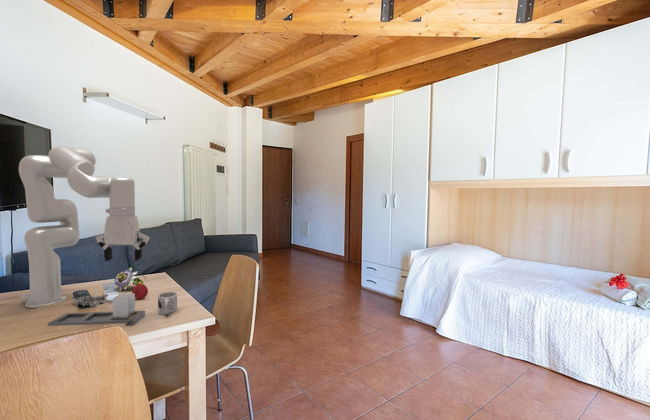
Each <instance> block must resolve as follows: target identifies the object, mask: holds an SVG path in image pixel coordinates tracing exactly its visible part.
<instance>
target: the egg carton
mask: <svg viewBox="0 0 650 420" xmlns="http://www.w3.org/2000/svg"><path fill="white" fill-rule="evenodd" d="M108 297H109V295H108V294H102V295H98V296H96V295H93V296H89V295H86V296H80V297H76V298H72V300H73V301H74V306H80V305H82V307H86V306H89V307H97V306H100V304H105V303H107V298H108ZM85 298H86V299H85ZM83 300H84V302H83ZM79 304H80V305H79ZM85 305H86V306H85Z"/></svg>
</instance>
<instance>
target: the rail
mask: <svg viewBox="0 0 650 420" xmlns="http://www.w3.org/2000/svg"><path fill="white" fill-rule="evenodd" d="M144 316H146V310H135V315H134V316H133V317H131V318H130V319H122V320H113V311H92V312H90V311H89V312H86V311H85V312H65V313H63V314H61V315H60V316H59V317H57V318H55V319H53V320H52V321H50V322H48V323H47V326H49V327H52V326H72V325H73V326H76V325H77V326H78V325H105V324H109V325H110V324H125V325H124V326H135V325H136V324H137V323H138V322H139V321H141V319H142V318H143V317H144Z"/></svg>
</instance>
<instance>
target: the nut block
mask: <svg viewBox="0 0 650 420" xmlns="http://www.w3.org/2000/svg"><path fill="white" fill-rule="evenodd" d="M135 299H136V298H135V293H132V292H130V293H119V294H117V295H116V296H114V297H112V312H113V320H122V319H130V318H131V317H133V316H134V315H135V311H136V303H135Z"/></svg>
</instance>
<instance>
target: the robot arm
mask: <svg viewBox="0 0 650 420" xmlns="http://www.w3.org/2000/svg"><path fill="white" fill-rule="evenodd" d="M96 161H97V160H96V156H95V154H94V153H93V152H92V151H90V150H89V149H87V148H80V147H73V146H66V145H65V146H63V145H59V146H54V147H53V148H51V149H50V150H49V152H48V155H40V154H39V155H37V154H36V155H35V154H33V155H32V154H31V155H26V156H24V157H23V158H21V160H20V161H19V165H18V174H19V177H20V180H21V182H22V184H23V187H24V190H25V201H26V212H27V216H28V219H29V221H30V222H32V223H35V224H46V223H48V224H49V223H58V222H59V224H57V225H43V226H36V227H32V228H30V229H28V230H27V231H26V232H25V234H24V236H23V237H24V243H25V247H26V251H27V256H28V270H29V271H28V272H29V292H23V293H22V294H21V296H20V300H26V302H25V303H24V304H25V308H29V309H39V308H41V307H44V306H47V305H48V306H49V305H53V304H56V303H60V302H66V301H67V296H66V295H63V294H62V274H61V273H62V271H61V258H60V256H59V255H58V254H57V253H56V252H55V250H54V249H59V248H67V247H71V246H75V245H76V244H77V243H78V242H79V240H80V223H79V213H78V209H77V206H76V204H75V202H74V201H72V200H70V199H65V198H62V199H61V198H58V199H56V198H55V193H54V192H55V190H54V187H53V185H52V184H51V183H50V182H49V180H47V179H46V178H54V179H55V178H56V179H58V178H59V179H67V183H68V185H69V186H68V187H70V189H71V190H73V191H75V192H76V193H77V194H79V195H80V196H82V197H85V198H89V199H93V198H94V199H96V198H97V199H98V198H100V199H102V198H104V199H107V198H108V199H109V207H108V208H106V209H105V213H106V214H109V216H106V220H105V225H104V233H102V234H100V235H97V236H96V237H95V240H96V242H97V243H98V246H100V247H101V248H102V251H103V252H104V253H103V254H104V255H103V256H104V257H103V258H104V260H105V262H108V261H111V260H112V259H113V248H111V247H112V246H131V245H132V246H133V247H134V248H135V249H134V261H135V262H138V261H140V260H141V258H142V255H143V251H142V250H143V249H144V247H145V246H146V245H147V243H148V242H149V240H150V239H151V238H150V236H148V235H146V234H144V233H142V232H140V224H139V219H138V216H136V205H135V204H136V203H135V202H136V200H135V199H136V189H135V188H136V187H135V180H134V179H133V178H132V177H131V178H130V177H114V176H99V175H94V172H95V170H96V169H95V165H96V163H97V162H96ZM103 239H104V240H103ZM141 239H143V240H142V242H140V241H141Z"/></svg>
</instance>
